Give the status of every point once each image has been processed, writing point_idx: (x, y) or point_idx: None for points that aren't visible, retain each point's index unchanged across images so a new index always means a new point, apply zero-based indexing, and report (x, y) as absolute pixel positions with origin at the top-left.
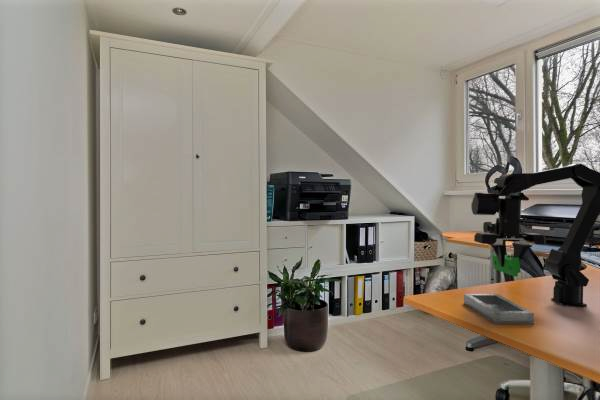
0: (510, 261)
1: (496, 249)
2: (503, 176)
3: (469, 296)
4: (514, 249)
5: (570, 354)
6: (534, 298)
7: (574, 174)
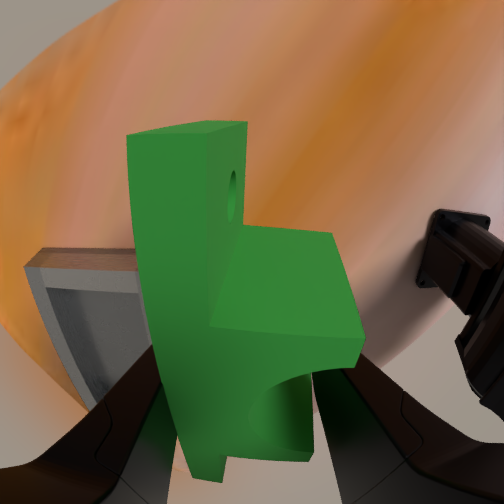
0: (190, 467)
1: (80, 480)
2: None
3: (38, 301)
4: (398, 469)
5: (180, 461)
6: (397, 178)
7: None
